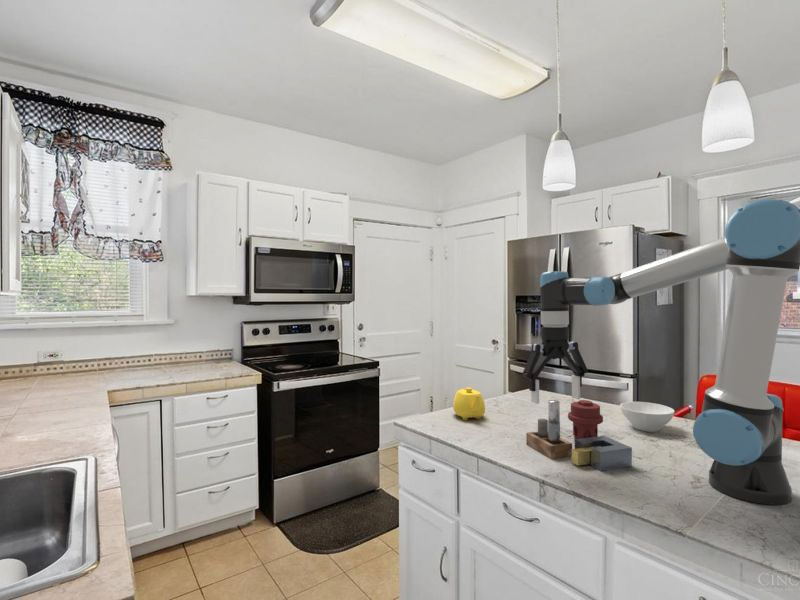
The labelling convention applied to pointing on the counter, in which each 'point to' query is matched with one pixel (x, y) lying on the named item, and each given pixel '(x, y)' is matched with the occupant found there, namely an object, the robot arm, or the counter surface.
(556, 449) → the frame
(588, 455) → the bar
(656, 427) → the bowl
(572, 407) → the mechanical component
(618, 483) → the counter surface
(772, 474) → the robot arm
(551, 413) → the grey cylindrical peg
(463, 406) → the teapot
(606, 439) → the socket block
